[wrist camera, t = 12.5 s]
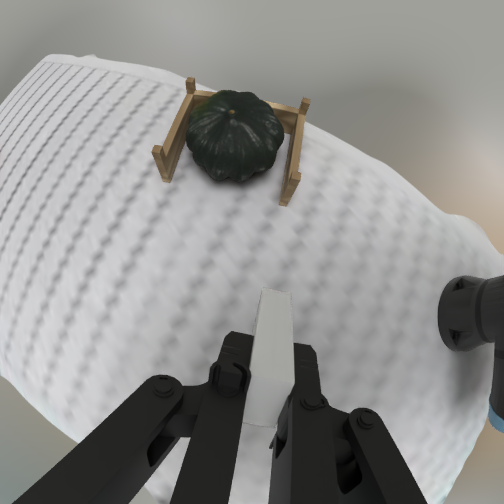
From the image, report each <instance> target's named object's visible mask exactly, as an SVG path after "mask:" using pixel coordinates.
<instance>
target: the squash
mask: <svg viewBox="0 0 504 504" xmlns="http://www.w3.org/2000/svg"><path fill="white" fill-rule="evenodd" d="M188 126H189V127H188V129H187V132H186V143H187V146H188V148H189V150H190V151H192V152H193V158H194V160H195V162H196V163H197V164H198V165H199V166H202V167H205V168H206V170H207V172H208V173H209V175H210V176H211V177H212V178H213V179H214V180H216V181H220V180H224V179H226V178H228V177H230V178H231V179H233V180H235V181H237V182H244V181H246V180H247V179H248V178H249V177H250V176H252V174H253V173H254V172H263V171H266V170H268V169H270V168H271V167H272V166H273V164H274V162H275V158H276V154H277V150H278V149H279V147H280V146H281V144H282V143H283V140H284V128H283V126H282V124H281V122H280V121H279V119H278V118H277V117H276V115H274V111H273V109H272V107H271V106H270V105H269V104H268V103H267V102H265V101H263V100H259V98H258V97H257V96H256V95H255V94H253V93H251V92H236V91H232V90H221V91H219V92H217V93H215V94H213V95H212V96H210V97H209V98H208V99H207V100H206V101H204V102H202V103H200V104H198V105H197V106H195V108H194V109H193V110H192V112H191V114H190V115H189V120H188Z"/></svg>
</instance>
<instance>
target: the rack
mask: <svg viewBox="0 0 504 504" xmlns="http://www.w3.org/2000/svg"><path fill="white" fill-rule="evenodd" d="M186 90H187V95H186V97H185V99H184V101H183V103H182V105H181V107H180V109H179V111H178V113H177V115H176V117H175V120H174V122H173V124H172V126H171V128H170V131H169V133H168V135H167V137H166V140H165V142H164V144H163V147H162V146H159V145H154V147H153V150H152V155H153V157H154V160H155V162H156V165H157V167H158V170H159V172H160V174H161V177H162V179H163V182H168V183H170V182H171V179H172V176H173V173H174V171H175V168H176V165H177V162H178V160H179V157H180V154H181V152H182V149H183V146H184V144H185V141H186V132H187V129H188V127H189V126H188V120H189V115H190V114H191V112H192V110H193V109H194V108H195V106H197V105H198V104H200V103H202V102H204V101H206V100H207V99H208V98H209V97H210V96H212V95H213V94H215V93H216V92H209V91H200V90H196V87H195V78H190V77H188V78H187V80H186ZM265 102H267V101H265ZM267 103H268V104H269V105H270V106H271V107H272V109H273V111H274V115H276V117H277V118H278V119H279V121H280V122H281V124H282V126H283V128H284V133H288V134H291V137H290V143H289V149H288V155H287V161H286V167H285V173H284V179H283V185H282V190H281V196H280V202H279V205H282V206H287V204H288V202H289V201H290V199H291V197H292V195H293V193H294V191H295V189H296V188H297V186H298V184H299V182H300V179H301V173H300V172H298V167H299V160H300V152H301V145H302V137H303V130H304V122H305V115H306V112H307V110H308V107H309V105H310V99H307V98H303V99H302V102H301V105H300V108H299V109H297V108H293V107H289V106H285V105H281V104H276V103H272V102H267Z"/></svg>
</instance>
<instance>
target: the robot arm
mask: <svg viewBox="0 0 504 504" xmlns="http://www.w3.org/2000/svg"><path fill="white" fill-rule="evenodd" d="M438 324H439V330H440V334H441V337H442V339H443V341H444V343H445V344H446V346H447V347H448V348H450V349H451V350H453V351H469V350H471V349H474V348H476V347H478V346H481V345H483V344H485V343H495V350H494V368H493V380H492V389H491V394H490V397H489V412H488V417H489V421H490V423H491V425H492V426H493V427H494V428H495V429H496V430H498V431H500V432H503V433H504V275H503V276H499V277H495V278H491V279H482V278H477V277H472V276H461V277H457V278H454V279H453V280H451V281H450V282H449V283H448V284H447V286H446V287H445V289H444V291H443V293H442V296H441V299H440V303H439V309H438ZM277 422H278V426H277V432H276V434H275V436H274V438H273V440H272V442H271V444H270V447H269V449H272V447H273V455H272V468H271V480H270V491H269V502H268V504H427V502H426V500H425V498H424V496H423V494H422V492H421V490H420V488H419V486H418V485H417V483H416V481H415V479H414V477H413V475H412V473H411V471H410V470H409V468H408V466H407V464H406V462H405V460H404V459H403V457H402V455H401V453H400V451H399V449H398V448H397V446H396V444H395V442H394V440H393V439H392V437H391V435H390V433H389V432H388V430H387V428H386V426H385V424H384V423H383V421H382V419H381V418H380V416H379V415H378V414H377V413H376V412H374V411H373V410H371V409H368V408H357V409H354V410H353V411H352V412H351V413H350V414H349V413H346V412H343V411H340V410H337V409H335V408H333V407H331V406H330V405H329V403H328V401H327V399H326V398H325V397H324V396H323V395H322V394H321V386H320V379H319V371H318V364H317V356H316V352H315V351H314V350H313V348H312V347H311V345H305V344H299V343H293V323H292V304H291V293H287V292H282V291H277V290H272V289H267V288H263V289H262V293H261V298H260V302H259V306H258V311H257V315H256V319H255V323H254V328H253V333H252V335H248V334H243V333H238V332H234V331H231V332H230V333H229V334H228V335H226V336H225V338H224V341H223V345H222V348H221V351H220V354H219V357H218V360H217V361H216V362H215V363H213V364H212V366H211V367H210V372H209V379H208V382H206V383H204V384H202V385H198V386H182V384H181V383H180V381H178V380H177V379H175V378H174V377H171V376H168V375H155V376H152V377H150V378H149V379H147V380H146V381H145V382H144V383H143V384H142V385H141V386H140V387H139V388H138V389H137V390H136V391H135V392H133V393H132V394H131V395H130V396H129V397H128V398H127V399H126V400H125V401H124V402H123V403H122V404H121V405H120V406H119V407H118V408H117V409H116V410H115V411H113V412H112V413H111V414H110V415H109V416H108V417H107V418H106V419H105V420H104V421H103V422H102V423H101V424H100V425H99V426H98V427H96V428H95V429H94V430H93V431H92V432H91V433H90V434H89V435H88V436H87V437H86V438H85V439H84V440H82V441H81V442H80V443H79V444H78V445H77V446H76V447H75V448H74V449H73V450H72V451H71V452H70V453H68V454H67V455H66V456H65V457H64V458H63V459H62V460H61V461H60V462H58V463H57V464H56V465H55V466H54V467H53V468H52V469H51V470H50V471H48V472H47V473H46V474H45V475H44V476H43V477H42V478H41V479H40V480H38V481H37V482H36V483H35V484H34V485H33V486H32V487H30V488H29V489H28V490H27V491H26V492H25V493H24V494H23V495H21V496H20V497H19V498H18V499H17V500H16V501H14V502H13V503H12V504H129V502H130V501H131V500H132V499H133V498H134V496H135V495H136V494H137V493H138V492H139V490H140V489H141V488H142V487H143V485H144V484H145V483H146V482H147V480H148V479H149V478H150V477H151V475H152V474H153V473H154V472H155V470H156V469H157V468H158V467H159V465H160V464H161V463H162V461H163V460H164V459H165V458H166V456H167V455H168V454H169V452H170V451H171V450H172V448H173V447H174V446H175V444H176V443H177V442H178V440H179V439H180V438H181V437H191V439H190V442H189V445H188V448H187V451H186V454H185V457H184V460H183V463H182V467H181V470H180V473H179V476H178V479H177V482H176V485H175V488H174V492H173V495H172V498H171V501H170V504H228V501H229V496H230V491H231V485H232V479H233V474H234V468H235V462H236V457H237V451H238V445H239V439H240V433H241V427H242V423H247V424H252V425H258V426H265V427H271V428H275V426H276V424H277Z"/></svg>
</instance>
